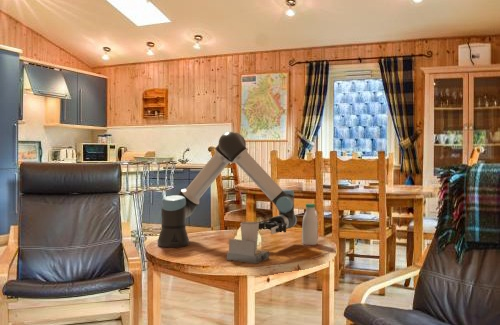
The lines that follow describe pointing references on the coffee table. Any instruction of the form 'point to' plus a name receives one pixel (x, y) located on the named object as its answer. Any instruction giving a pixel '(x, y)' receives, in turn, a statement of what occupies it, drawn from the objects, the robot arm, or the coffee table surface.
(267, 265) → the coffee table surface
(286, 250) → the coffee table surface
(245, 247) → the grey holder block
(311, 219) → the milk bottle
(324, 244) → the coffee table surface
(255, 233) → the cup
